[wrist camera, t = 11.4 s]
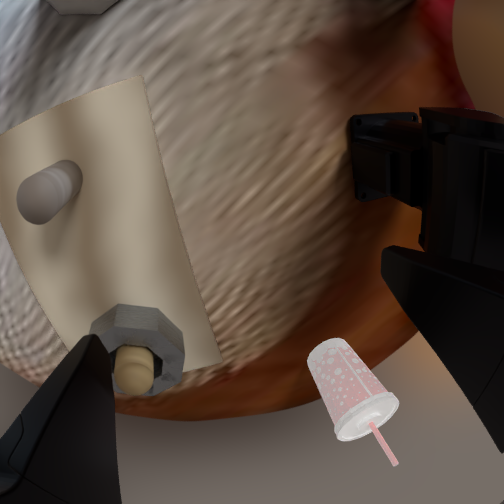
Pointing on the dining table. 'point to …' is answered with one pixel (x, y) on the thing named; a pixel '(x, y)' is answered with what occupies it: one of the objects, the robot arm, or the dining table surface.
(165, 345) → the steel ring
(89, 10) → the flask
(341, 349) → the beverage cup
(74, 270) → the base board
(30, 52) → the dining table surface
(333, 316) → the dining table surface
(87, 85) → the dining table surface
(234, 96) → the dining table surface
